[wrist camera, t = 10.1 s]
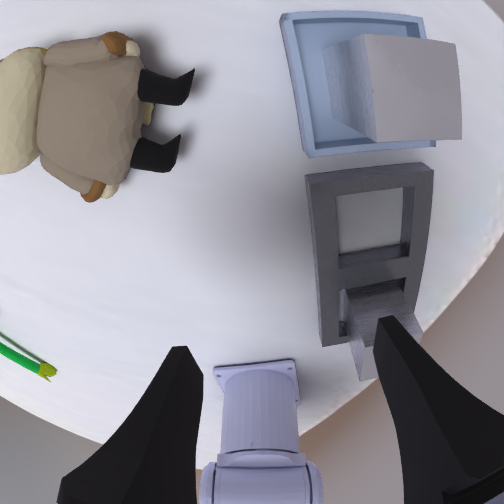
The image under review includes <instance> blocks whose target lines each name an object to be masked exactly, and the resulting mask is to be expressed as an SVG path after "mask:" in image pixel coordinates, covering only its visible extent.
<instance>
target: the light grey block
mask: <svg viewBox="0 0 504 504" xmlns="http://www.w3.org/2000/svg"><path fill="white" fill-rule="evenodd" d="M322 55H323V61H324V67H325V72H326V78H327V85H328V91H329V98H330V105H331V112H332V118H333V119H335V120H337V121H339V122H341V123H343V124H345V125H347V126H348V127H350V128H352V129H354V130H356V131H358V132H359V133H361V134H363V135H365V136H366V137H368V138H370V139H372V140H373V141H375V142H377V143H380V142H395V141H415V140H462V114H461V92H460V79H459V69H458V60H457V53H456V46H455V44H453V43H447V42H442V41H436V40H429V39H422V38H414V37H405V36H394V35H379V34H362V35H359V36H356V37H354V38H351V39H348V40H346V41H343V42H340V43H338V44H335V45H333V46H330V47H328V48H325V49H323V50H322Z"/></svg>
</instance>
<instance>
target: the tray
mask: <svg viewBox="0 0 504 504" xmlns="http://www.w3.org/2000/svg"><path fill="white" fill-rule="evenodd" d="M279 23H280V28H281V32H282V37H283V41H284V46H285V51H286V56H287V60H288V65H289V70H290V76H291V81H292V86H293V92H294V97H295V103H296V109H297V115H298V121H299V127H300V133H301V140H302V147H303V151H304V152H305V153H306V155H307V156H308V158H313V157H320V156H328V155H336V154H345V153H354V152H364V151H375V150H387V149H400V148H416V147H436V140H415V141H395V142H380V143H377V142H375V141H373V140H372V139H370V138H368V137H366V136H365V135H363V134H361V133H359V132H358V131H356V130H354V129H352V128H350V127H348V126H347V125H345V124H343V123H341V122H339V121H337V120H335V119H333V118H332V112H331V105H330V98H329V91H328V85H327V78H326V72H325V67H324V61H323V55H322V50H323V49H325V48H328V47H330V46H333V45H335V44H338V43H340V42H343V41H346V40H348V39H351V38H354V37H356V36H359V35H362V34H379V35H394V36H405V37H414V38H422V39H427V38H426V32H425V27H424V22H423V18H422V17H416V16H409V15H401V14H392V13H381V12H366V11H312V12H296V13H285V14H282V15H281V18H280V20H279Z"/></svg>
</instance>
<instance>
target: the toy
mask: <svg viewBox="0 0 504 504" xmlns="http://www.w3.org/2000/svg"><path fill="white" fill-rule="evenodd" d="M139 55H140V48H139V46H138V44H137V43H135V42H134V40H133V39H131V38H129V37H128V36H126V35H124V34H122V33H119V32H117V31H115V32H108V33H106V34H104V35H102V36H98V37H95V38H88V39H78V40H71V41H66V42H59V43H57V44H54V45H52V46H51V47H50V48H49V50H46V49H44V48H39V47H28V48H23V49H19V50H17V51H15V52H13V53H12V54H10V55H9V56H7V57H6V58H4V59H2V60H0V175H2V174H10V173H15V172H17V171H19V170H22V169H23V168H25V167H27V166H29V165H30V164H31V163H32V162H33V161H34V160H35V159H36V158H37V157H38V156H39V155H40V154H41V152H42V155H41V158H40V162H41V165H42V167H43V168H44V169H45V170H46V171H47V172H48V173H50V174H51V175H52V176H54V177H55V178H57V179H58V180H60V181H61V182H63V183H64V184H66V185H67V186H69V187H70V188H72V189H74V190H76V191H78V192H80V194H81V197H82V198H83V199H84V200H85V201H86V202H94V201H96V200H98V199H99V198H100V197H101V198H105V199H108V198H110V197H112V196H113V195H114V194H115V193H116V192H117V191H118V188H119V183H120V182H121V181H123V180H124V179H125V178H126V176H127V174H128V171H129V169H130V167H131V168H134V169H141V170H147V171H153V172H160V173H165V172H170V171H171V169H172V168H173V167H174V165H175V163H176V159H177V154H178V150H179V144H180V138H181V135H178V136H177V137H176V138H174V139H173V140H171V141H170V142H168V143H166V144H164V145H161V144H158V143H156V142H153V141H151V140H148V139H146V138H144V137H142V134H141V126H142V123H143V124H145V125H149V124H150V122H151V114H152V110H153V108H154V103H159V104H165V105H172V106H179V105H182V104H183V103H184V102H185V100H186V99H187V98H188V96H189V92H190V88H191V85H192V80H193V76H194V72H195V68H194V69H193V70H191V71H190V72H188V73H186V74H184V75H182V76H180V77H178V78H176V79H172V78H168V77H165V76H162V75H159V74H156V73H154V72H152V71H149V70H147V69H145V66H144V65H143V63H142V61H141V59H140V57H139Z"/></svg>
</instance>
